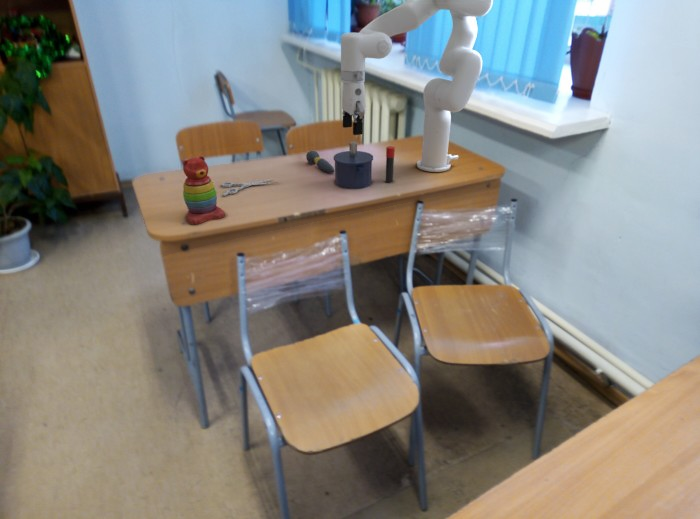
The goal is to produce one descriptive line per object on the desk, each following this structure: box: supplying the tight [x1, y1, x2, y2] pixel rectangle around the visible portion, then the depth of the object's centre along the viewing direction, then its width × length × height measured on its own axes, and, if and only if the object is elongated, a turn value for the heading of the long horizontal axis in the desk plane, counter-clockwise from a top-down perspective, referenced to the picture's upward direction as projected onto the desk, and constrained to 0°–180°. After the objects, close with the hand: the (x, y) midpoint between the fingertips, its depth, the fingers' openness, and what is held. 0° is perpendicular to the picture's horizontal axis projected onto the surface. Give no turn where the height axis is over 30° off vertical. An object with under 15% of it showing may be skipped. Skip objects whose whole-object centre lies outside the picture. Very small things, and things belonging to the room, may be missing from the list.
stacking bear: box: [182, 155, 226, 225], centre depth 140 cm, size 11×10×18 cm
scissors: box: [221, 178, 277, 197], centre depth 165 cm, size 11×1×20 cm
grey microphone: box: [305, 150, 335, 174], centre depth 180 cm, size 20×5×5 cm, turn 38°
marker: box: [385, 145, 396, 184], centre depth 165 cm, size 3×3×12 cm
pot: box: [334, 160, 373, 190], centre depth 166 cm, size 13×18×8 cm
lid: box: [333, 141, 374, 165], centre depth 162 cm, size 14×14×6 cm
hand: (352, 130), depth 159 cm, fingers open, 9 cm apart
